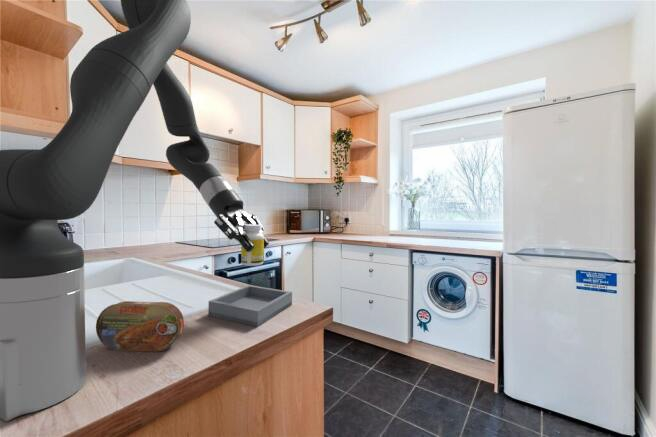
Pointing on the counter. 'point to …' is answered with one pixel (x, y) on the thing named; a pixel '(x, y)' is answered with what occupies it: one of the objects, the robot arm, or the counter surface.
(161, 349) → the tin
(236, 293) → the tray
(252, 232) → the supplement bottle
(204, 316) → the counter surface
